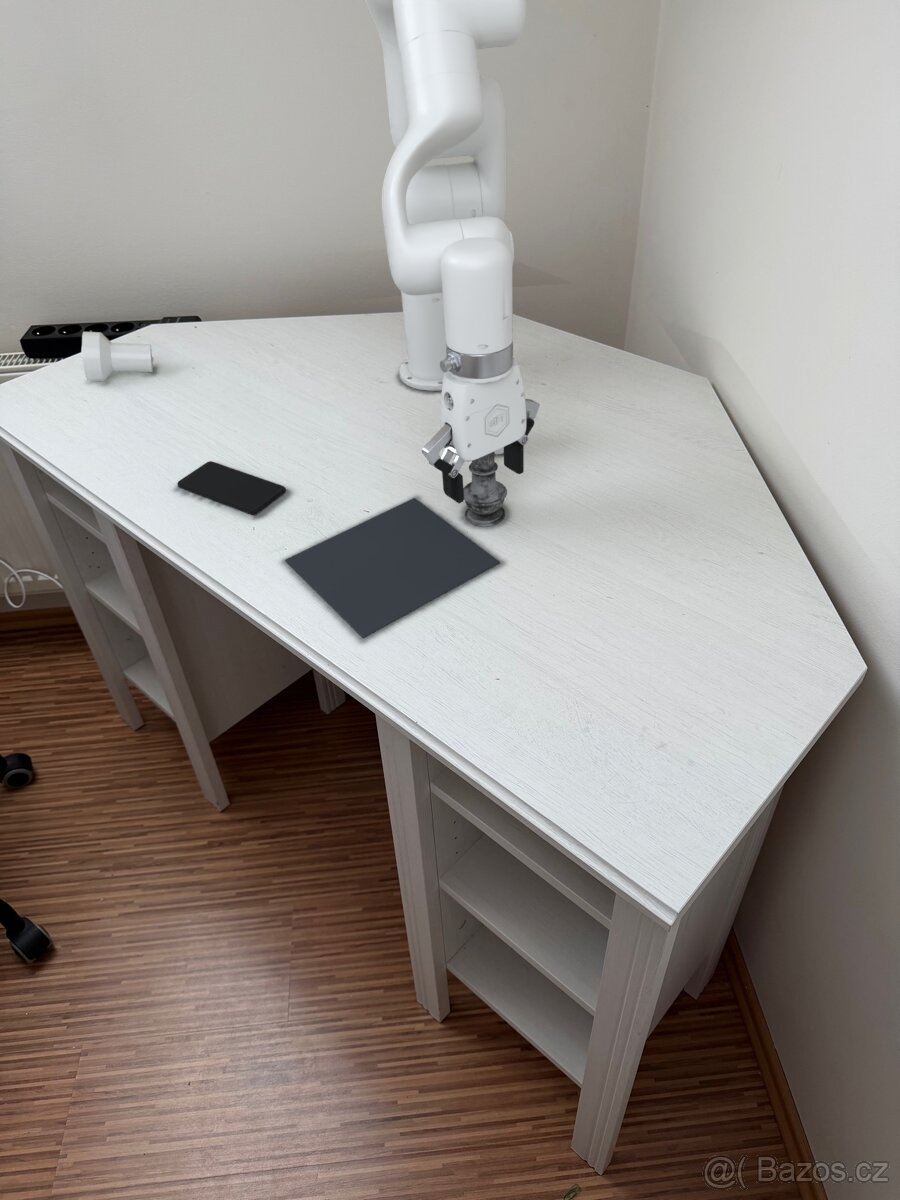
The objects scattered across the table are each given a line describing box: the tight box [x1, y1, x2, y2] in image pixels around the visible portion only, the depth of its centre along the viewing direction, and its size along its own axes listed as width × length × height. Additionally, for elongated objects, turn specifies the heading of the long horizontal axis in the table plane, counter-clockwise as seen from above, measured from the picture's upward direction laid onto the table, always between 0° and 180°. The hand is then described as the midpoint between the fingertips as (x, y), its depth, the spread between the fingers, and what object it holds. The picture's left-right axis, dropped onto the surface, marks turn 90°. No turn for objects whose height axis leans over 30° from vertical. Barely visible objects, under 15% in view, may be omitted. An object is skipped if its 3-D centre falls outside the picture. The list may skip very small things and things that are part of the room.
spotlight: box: [80, 331, 154, 382], centre depth 143 cm, size 8×11×8 cm
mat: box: [284, 497, 501, 639], centre depth 103 cm, size 20×18×1 cm
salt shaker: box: [463, 452, 508, 528], centre depth 105 cm, size 6×6×12 cm
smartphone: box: [177, 460, 287, 516], centre depth 117 cm, size 7×1×15 cm
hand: (484, 483), depth 106 cm, fingers open, 9 cm apart
